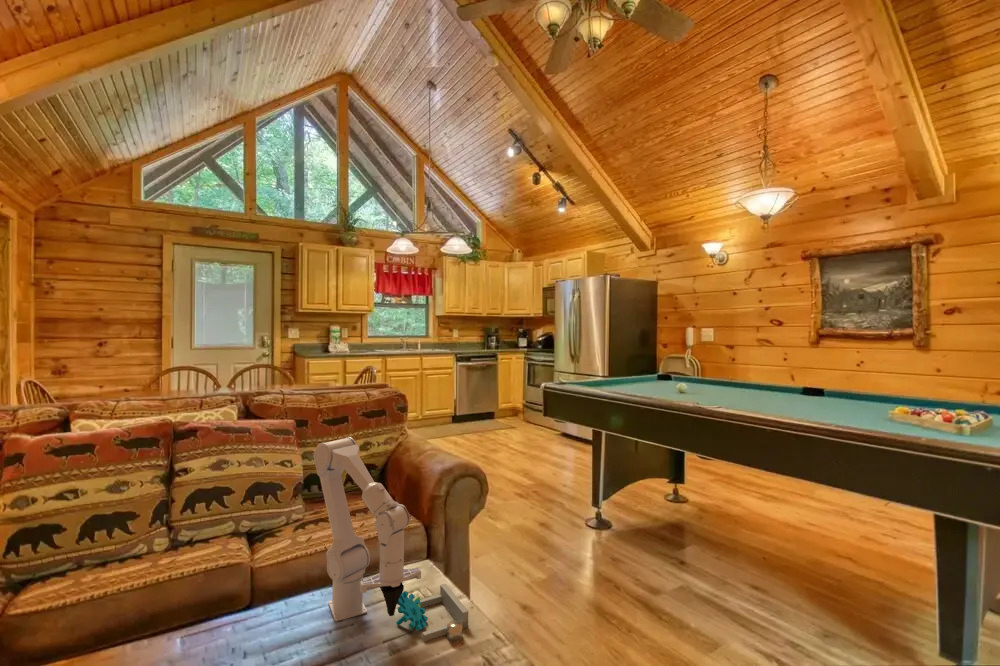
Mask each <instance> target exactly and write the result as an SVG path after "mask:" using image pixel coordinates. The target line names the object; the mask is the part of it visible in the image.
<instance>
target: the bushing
mask: <svg viewBox="0 0 1000 666" xmlns="http://www.w3.org/2000/svg"><path fill="white" fill-rule="evenodd" d="M446 625H447V634H446V640H447V641H449V642H452V643H456V642H457V643H458V642H460V641H461V640H462V638H463V629H462V623H461V622H460V621H458V620H455V619H454V620H450V621H449V622H447V624H446Z"/></svg>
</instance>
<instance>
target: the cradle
mask: <svg viewBox="0 0 1000 666" xmlns="http://www.w3.org/2000/svg"><path fill="white" fill-rule="evenodd" d="M439 587H440V588H439V589H440V590H439V594H436V595H432V596H429V597H424V598H421V600H420V602H421V604H420V606H421V607H420V608H425V607H429V606H431V605H435V603H436V604H439V603H442V602H443V603H442V604H443V605H444V607H445V606H446V607H447V608H446V607H445V608H446V609H447V611H448V612H449V613H450V615H451V616H452V617H453V618H454V620H458V621H460V622H461V623H462V630H463V629H467V628H469V610H468V609H467V607H465V605H464V604H463V603H462V602H461V600H460V599H459V598H458V597H457V596H456V594H455V592H453V591H452V590H451V588H450V587H449V586H448V585H447V583H443V584H440V586H439ZM441 601H442V602H441ZM438 602H439V603H438ZM428 605H429V606H428ZM445 634H446V635H447V624H445V625H442V626H438V627H434V628H432V629H430V630H429V629H428V630H426V631H423V632H422V638H421V639H422V641H423V642H427V641H430V640H433V639H432V638H434V639H436V638H435V637H437V638H439V637H438V636H440V637H442V636H441V635H443V636H445ZM429 639H430V640H429Z"/></svg>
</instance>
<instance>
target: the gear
mask: <svg viewBox="0 0 1000 666" xmlns="http://www.w3.org/2000/svg"><path fill="white" fill-rule="evenodd" d="M421 599H422V598H421V597H420V596H417V597H416V598H415V595H414V594H413V593H411V592H410V594H409V592H408V591H406V590H403V592H402V594H401V596H400V598H399V600H398V602H397V605H398V608H397V612H398V613H399V614H403V616H401V617H399V619H398V620H397V621H396V623H395V624H396V625H397V626H398V627H399V626H401V624H402V623H407V622H408V621H410V623H409V624H408V627H409V628H410V629H411V630H414V629H415V630H416V632H417V631H418V632H420V631H421V630H422V629H425V627H427V623H426V622H427V621H428V617H427V616H426V615H425V613H426V609H425V607H422V608H420V607H421V606H420V604H421V602H420V600H421Z"/></svg>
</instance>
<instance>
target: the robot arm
mask: <svg viewBox="0 0 1000 666" xmlns="http://www.w3.org/2000/svg"><path fill="white" fill-rule="evenodd" d="M312 455H313V460H314V464H315V465H314V466H315V470H316V475H317V476H318V477H319V480H320V485H321V489H322V494H323V498H324V503H325V506H326V512H327V516H328V521H329V525H330V530H331V534H332V538H333V539H332V540H333V542H332V544H331V545H329V548H328V550H327V551H326V553H325V554H326V562H327V563H326V571H327V574H328V577H329V578H330V579H331V580H332V599H331V600H328V606H329V609H330V611H331V615H332V616H333V617H332V618H333V620H334V621H335V622H339V621H342V620H347V619H350V618H353V617H357V616H361V615H364V614H367V613H368V610H367V608H366V606H365V604H364V601H363V599H364V598H363V596H364V595H363V594H365V593H367V592H368V591H371V590H374V589H379V588H380V591H381V593H382V595H383V599H384V601H385V605H386V612H387V615H388V616H389V617H394V616H395V612H396V609H397V608H396V607H397V605H398V604H397V602H398V600H399V598H400V596H401V594H402V593H403V592H404V591H405V590H404V589H405V588H404V587H405V586H404V584H403V582H407V581H411V580H414V579H415V580H421V579H422V570H421V569H420V567H414V568H404V564H405V562H404V561H405V560H404V559H405V528H407V527H408V526H409V524H410V519H411V518H410V513H409V510H408V509H407V507H406V506H405V505H404V504H402V503H401V504H400V503H399V502H398V501H395V500H394V499H393V498H392V496H391V495H390V493H389V492H388V491H387V490H386V487H385V486H384V485H383V484H382V483H381V482H375V481H374V479H373V477H372V475H371V474H370V472H369V470H368V469H367V467H366V465H365V464H364V461H363V460H362V458H361V457H360V446H359V445H358V444H357V441H356V440H355V439H354V438H353V437H351V436H347V437H345V438H339V439H336V440H332V441H328V442H320V443H318V444H317V445H316V447H315V449H314V452H313V454H312ZM344 471H346V473H347V474H348V475H349V477H351V479H352V480H353V481H354V483H355V484H356V485H357V486H358V487H359V488H360V490H361V491H362V494H361V499H362V501H363V502H364V503H365V506H366V507H367V508H368V510H369V511H370V513H371V514H372V516H373V517H374V518H375V520H374V527H375V530H376V532H377V539H378V542H379V570H378V571H379V572H378V574H375V575H373V576H372V577H369V578H367V579H364V574H365V573H366V568H367V567H368V566H369V564H370V561H371V554H370V550H369V549H368V548H367V546H366V543H365V540H364V538H363V537H362V536H359V535H357V534H355V530H354V526H353V522H352V517H351V514H350V509H349V505H348V504H349V503H348V500H347V496H346V492H345V487H344V482H343V477H342V475H343V473H344Z"/></svg>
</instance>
